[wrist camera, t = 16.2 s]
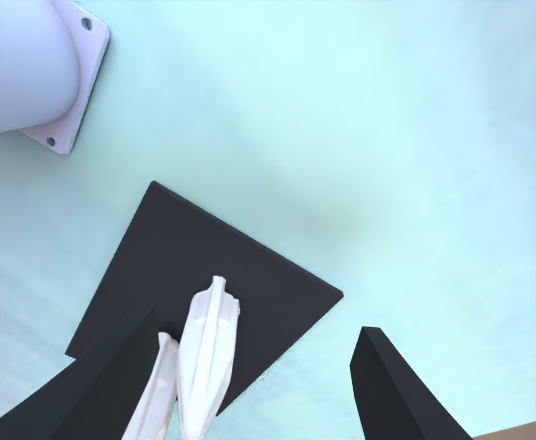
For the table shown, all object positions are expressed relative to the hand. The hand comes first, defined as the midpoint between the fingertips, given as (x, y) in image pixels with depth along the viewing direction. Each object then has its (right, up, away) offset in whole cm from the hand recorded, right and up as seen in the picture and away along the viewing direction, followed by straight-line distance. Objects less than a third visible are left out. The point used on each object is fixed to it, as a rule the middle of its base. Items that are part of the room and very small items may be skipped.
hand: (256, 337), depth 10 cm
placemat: (-6, -5, +14) cm, 16 cm away
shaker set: (-6, -5, +14) cm, 16 cm away
